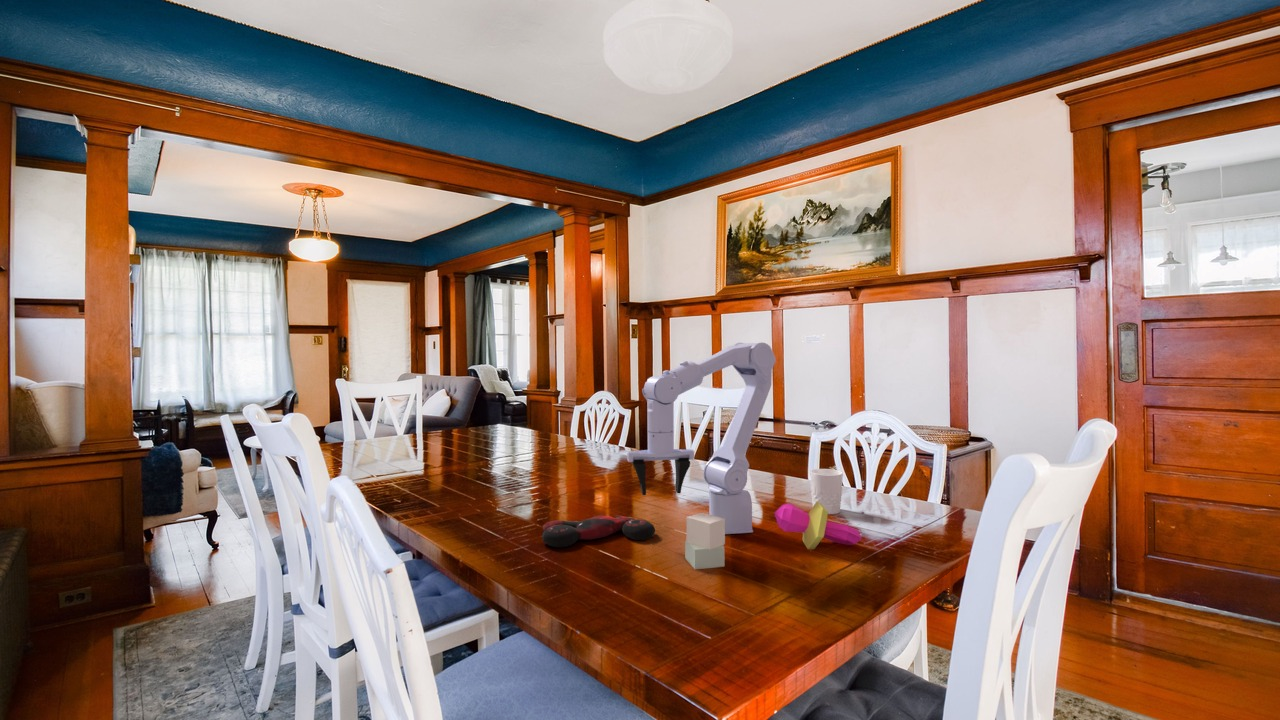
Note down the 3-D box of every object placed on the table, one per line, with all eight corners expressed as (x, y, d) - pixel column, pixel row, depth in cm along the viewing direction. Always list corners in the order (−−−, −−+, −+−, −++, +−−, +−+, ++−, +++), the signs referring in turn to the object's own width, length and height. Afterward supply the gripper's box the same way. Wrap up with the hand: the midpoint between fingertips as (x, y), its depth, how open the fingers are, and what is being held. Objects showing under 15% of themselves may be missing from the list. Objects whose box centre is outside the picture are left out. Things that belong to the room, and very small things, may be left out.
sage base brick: (713, 556, 118) (713, 537, 118) (724, 567, 113) (724, 546, 112) (685, 559, 117) (685, 539, 117) (694, 570, 111) (694, 549, 111)
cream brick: (701, 536, 118) (701, 512, 118) (724, 544, 114) (724, 518, 114) (686, 542, 115) (686, 517, 115) (709, 549, 111) (709, 523, 111)
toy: (862, 562, 116) (870, 511, 120) (775, 534, 118) (785, 485, 121) (844, 564, 126) (852, 517, 129) (763, 539, 127) (773, 493, 131)
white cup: (849, 512, 148) (849, 473, 148) (827, 517, 144) (827, 476, 144) (825, 505, 155) (825, 467, 155) (803, 509, 151) (803, 470, 151)
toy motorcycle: (659, 547, 128) (641, 515, 143) (659, 525, 127) (641, 495, 142) (544, 560, 122) (538, 526, 137) (543, 538, 121) (537, 505, 136)
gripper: (688, 427, 132) (689, 487, 132) (625, 429, 130) (625, 490, 130) (696, 432, 125) (696, 495, 125) (629, 434, 123) (630, 498, 123)
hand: (660, 493), depth 127 cm, fingers open, 7 cm apart
